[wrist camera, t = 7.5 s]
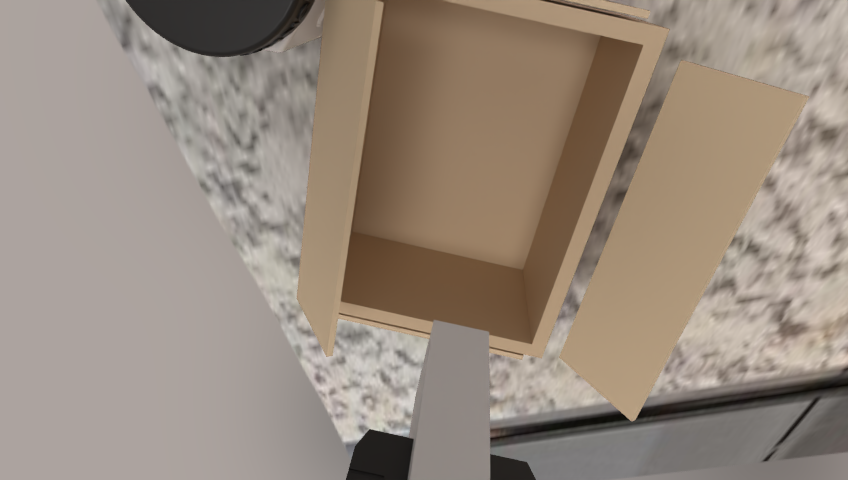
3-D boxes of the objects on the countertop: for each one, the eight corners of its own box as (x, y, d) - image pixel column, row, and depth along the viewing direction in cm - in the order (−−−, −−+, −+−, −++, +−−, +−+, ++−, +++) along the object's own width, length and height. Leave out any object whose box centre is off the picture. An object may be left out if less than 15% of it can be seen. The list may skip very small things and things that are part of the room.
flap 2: (805, 96, 18) (809, 96, 18) (681, 60, 21) (685, 60, 22) (631, 421, 26) (635, 419, 26) (559, 357, 29) (562, 355, 29)
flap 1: (334, -18, 22) (327, -19, 21) (383, 2, 18) (375, 1, 18) (302, 297, 29) (296, 298, 29) (332, 355, 26) (326, 356, 25)
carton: (381, -50, 30) (342, -58, 22) (623, 4, 29) (674, 16, 22) (341, 241, 38) (303, 311, 30) (528, 283, 38) (539, 364, 30)
